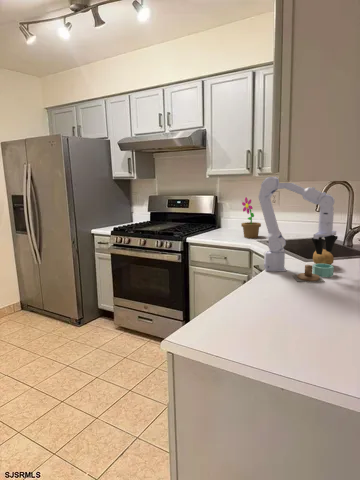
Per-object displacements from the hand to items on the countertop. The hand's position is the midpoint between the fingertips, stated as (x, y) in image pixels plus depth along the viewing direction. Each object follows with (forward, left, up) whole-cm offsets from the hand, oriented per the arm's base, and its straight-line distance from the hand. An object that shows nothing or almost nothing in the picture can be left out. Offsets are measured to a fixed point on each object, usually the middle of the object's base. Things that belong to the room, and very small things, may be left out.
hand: (324, 252), depth 145 cm
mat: (-8, -7, -10) cm, 15 cm away
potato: (+4, +14, -10) cm, 17 cm away
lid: (-8, -7, -10) cm, 15 cm away
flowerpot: (-24, +97, -10) cm, 100 cm away
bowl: (0, 0, -10) cm, 10 cm away
